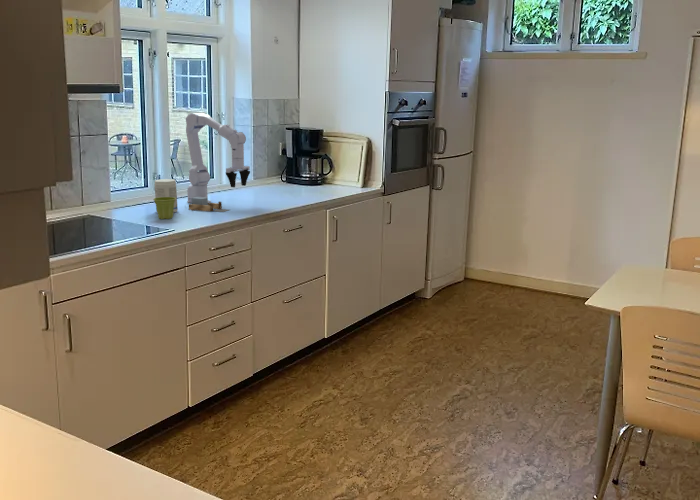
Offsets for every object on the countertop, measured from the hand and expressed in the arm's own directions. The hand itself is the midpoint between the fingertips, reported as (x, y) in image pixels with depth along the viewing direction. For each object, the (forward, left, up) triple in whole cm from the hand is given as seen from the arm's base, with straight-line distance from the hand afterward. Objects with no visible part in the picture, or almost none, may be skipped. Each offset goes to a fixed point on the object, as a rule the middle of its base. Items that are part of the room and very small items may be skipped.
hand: (238, 186), depth 332 cm
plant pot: (-13, -40, -10) cm, 44 cm away
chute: (-10, -13, -10) cm, 20 cm away
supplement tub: (-22, -27, -10) cm, 36 cm away
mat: (-1, -13, -10) cm, 17 cm away
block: (-13, -13, -10) cm, 21 cm away
